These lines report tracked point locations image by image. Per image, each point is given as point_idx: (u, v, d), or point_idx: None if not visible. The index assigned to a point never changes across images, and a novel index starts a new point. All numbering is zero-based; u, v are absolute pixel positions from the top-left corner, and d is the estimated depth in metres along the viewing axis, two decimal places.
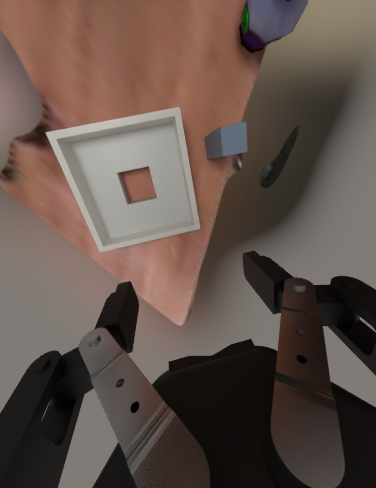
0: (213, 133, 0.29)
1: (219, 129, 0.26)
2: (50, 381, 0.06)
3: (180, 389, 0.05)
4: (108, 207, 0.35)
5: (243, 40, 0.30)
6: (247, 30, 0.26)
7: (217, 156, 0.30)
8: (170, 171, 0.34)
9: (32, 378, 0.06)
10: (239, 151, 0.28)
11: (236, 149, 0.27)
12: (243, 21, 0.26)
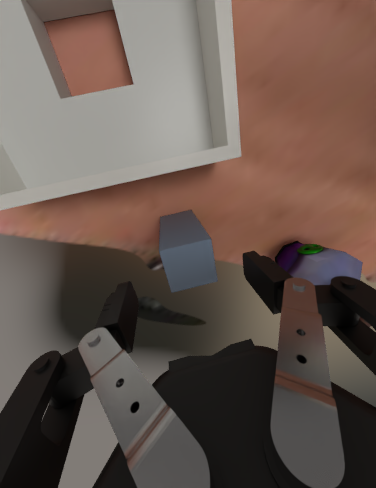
0: (198, 224, 0.17)
1: (206, 237, 0.14)
2: (50, 381, 0.06)
3: (180, 389, 0.05)
4: None
5: (287, 247, 0.26)
6: (302, 253, 0.22)
7: (161, 236, 0.16)
8: (128, 140, 0.16)
9: (32, 378, 0.06)
10: (170, 279, 0.14)
11: (173, 273, 0.14)
12: (310, 248, 0.22)
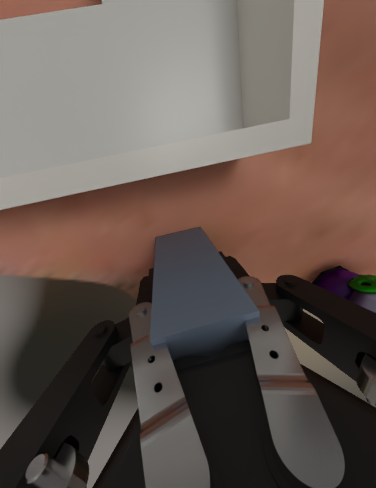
0: (220, 262, 0.10)
1: (247, 303, 0.07)
2: (103, 349, 0.07)
3: None
4: None
5: (327, 275, 0.19)
6: (360, 290, 0.15)
7: (156, 287, 0.09)
8: (97, 115, 0.09)
9: (92, 340, 0.08)
10: None
11: None
12: (372, 282, 0.15)
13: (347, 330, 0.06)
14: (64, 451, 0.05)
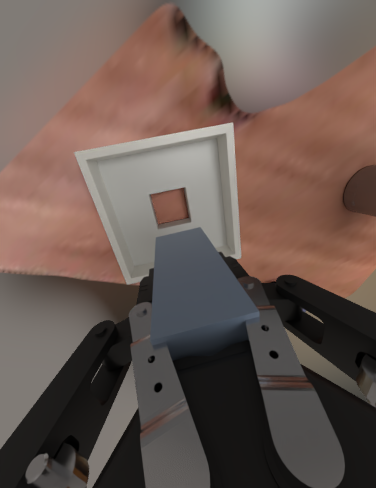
0: (220, 262, 0.10)
1: (247, 303, 0.07)
2: (103, 349, 0.07)
3: None
4: (144, 169, 0.27)
5: None
6: None
7: (156, 287, 0.09)
8: None
9: (92, 340, 0.08)
10: None
11: None
12: None
13: (347, 330, 0.06)
14: (64, 451, 0.05)
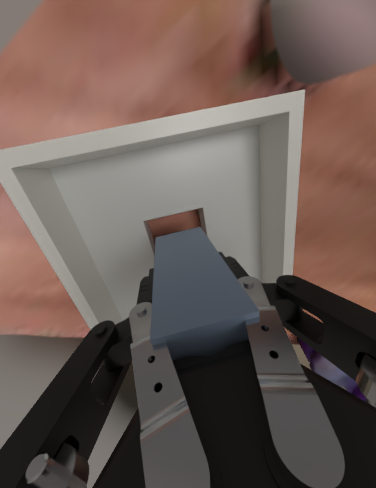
0: (220, 262, 0.10)
1: (247, 303, 0.07)
2: (103, 349, 0.07)
3: None
4: (134, 181, 0.16)
5: None
6: None
7: (156, 287, 0.09)
8: None
9: (92, 340, 0.08)
10: None
11: None
12: None
13: (347, 330, 0.06)
14: (64, 451, 0.05)
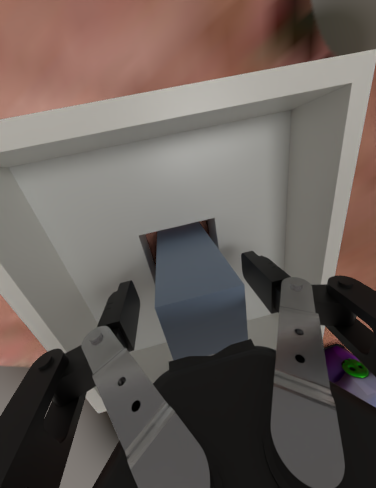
0: (214, 249, 0.11)
1: (235, 279, 0.08)
2: (53, 379, 0.06)
3: (180, 389, 0.05)
4: (125, 184, 0.12)
5: (327, 351, 0.28)
6: (348, 373, 0.24)
7: (159, 270, 0.10)
8: None
9: (35, 375, 0.07)
10: (174, 347, 0.09)
11: (179, 338, 0.08)
12: (356, 369, 0.24)
13: None
14: None
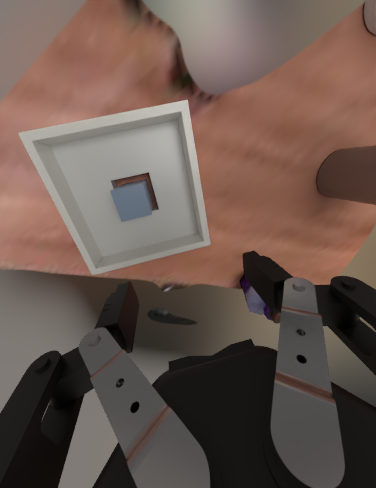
0: (142, 182, 0.25)
1: (140, 183, 0.22)
2: (50, 381, 0.06)
3: (180, 389, 0.05)
4: (102, 154, 0.26)
5: None
6: None
7: (116, 188, 0.24)
8: (155, 232, 0.31)
9: (32, 378, 0.06)
10: (119, 212, 0.22)
11: (121, 207, 0.22)
12: None
13: None
14: None
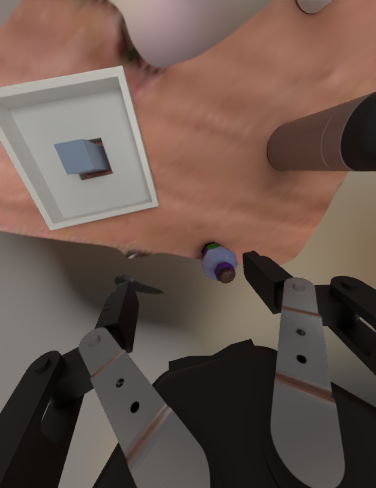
0: None
1: None
2: (50, 381, 0.06)
3: (180, 389, 0.05)
4: (56, 118, 0.29)
5: (206, 245, 0.45)
6: (207, 248, 0.41)
7: None
8: (111, 195, 0.35)
9: (32, 378, 0.06)
10: (64, 164, 0.26)
11: (65, 160, 0.25)
12: (211, 245, 0.41)
13: None
14: None
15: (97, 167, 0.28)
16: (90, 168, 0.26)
